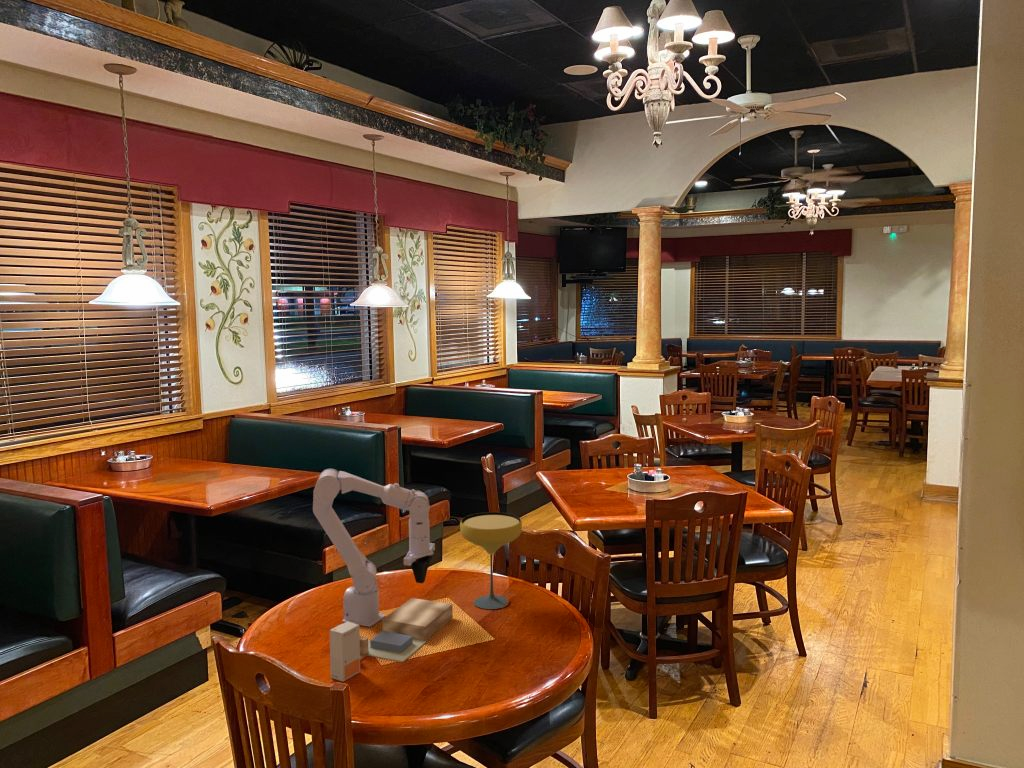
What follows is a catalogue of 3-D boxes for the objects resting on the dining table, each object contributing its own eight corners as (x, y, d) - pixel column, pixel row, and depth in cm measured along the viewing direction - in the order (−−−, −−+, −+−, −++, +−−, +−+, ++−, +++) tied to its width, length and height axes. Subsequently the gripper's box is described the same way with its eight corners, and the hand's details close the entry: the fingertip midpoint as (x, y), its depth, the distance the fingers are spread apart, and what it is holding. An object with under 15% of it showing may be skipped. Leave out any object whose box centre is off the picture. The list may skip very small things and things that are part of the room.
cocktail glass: (448, 604, 225) (447, 521, 222) (489, 586, 238) (488, 508, 236) (494, 620, 213) (493, 533, 210) (534, 601, 227) (534, 519, 224)
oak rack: (338, 660, 190) (337, 644, 189) (352, 650, 195) (351, 634, 195) (355, 664, 188) (354, 647, 187) (368, 653, 193) (368, 637, 193)
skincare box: (343, 682, 179) (341, 633, 178) (330, 678, 181) (328, 629, 180) (361, 672, 184) (360, 624, 183) (348, 667, 186) (346, 620, 185)
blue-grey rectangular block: (382, 630, 201) (382, 638, 202) (370, 640, 196) (370, 647, 196) (412, 636, 198) (412, 643, 198) (400, 645, 193) (401, 653, 193)
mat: (354, 653, 194) (354, 652, 194) (380, 634, 205) (380, 633, 205) (402, 662, 189) (402, 661, 189) (426, 642, 200) (426, 641, 200)
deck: (382, 633, 205) (382, 619, 205) (412, 611, 220) (411, 597, 219) (425, 641, 200) (425, 626, 200) (452, 617, 215) (452, 604, 215)
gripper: (419, 544, 206) (420, 593, 207) (443, 529, 219) (444, 575, 221) (396, 541, 208) (397, 589, 210) (422, 527, 222) (423, 572, 223)
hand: (420, 582), depth 215 cm, fingers closed
